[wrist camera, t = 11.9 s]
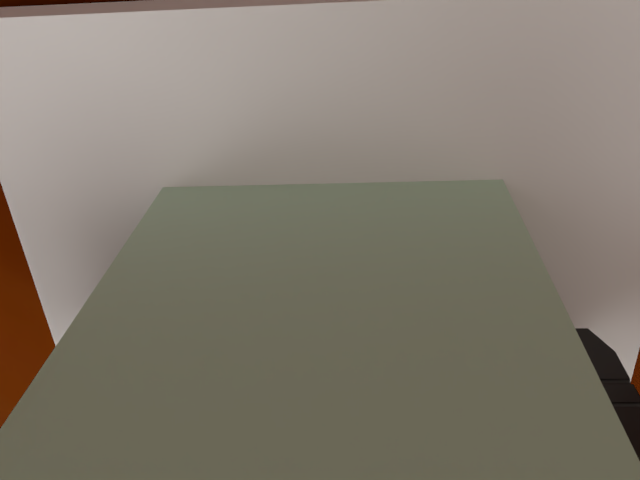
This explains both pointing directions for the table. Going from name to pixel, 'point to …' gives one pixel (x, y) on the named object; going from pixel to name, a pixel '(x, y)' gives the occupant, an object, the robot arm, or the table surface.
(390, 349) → the block
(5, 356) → the table surface
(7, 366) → the table surface
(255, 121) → the pad
